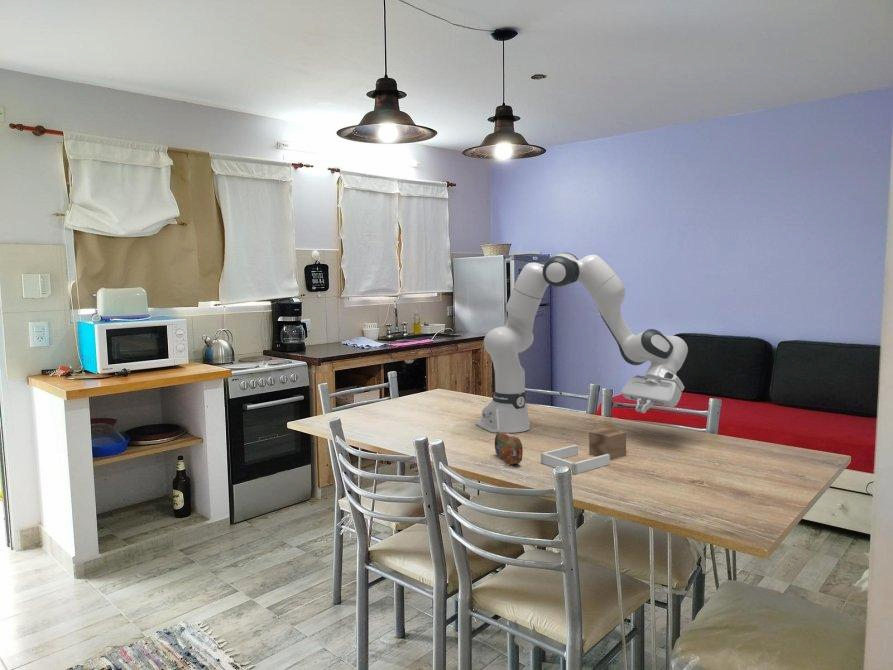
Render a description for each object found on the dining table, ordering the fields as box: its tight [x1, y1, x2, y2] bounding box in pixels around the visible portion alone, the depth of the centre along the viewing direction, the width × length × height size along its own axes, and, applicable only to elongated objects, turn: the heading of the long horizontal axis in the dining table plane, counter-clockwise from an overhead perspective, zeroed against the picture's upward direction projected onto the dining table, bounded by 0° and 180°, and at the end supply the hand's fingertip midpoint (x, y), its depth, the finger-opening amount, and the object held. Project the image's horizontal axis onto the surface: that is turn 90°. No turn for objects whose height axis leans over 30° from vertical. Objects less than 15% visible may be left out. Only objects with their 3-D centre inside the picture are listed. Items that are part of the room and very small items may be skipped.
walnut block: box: [588, 427, 627, 461], centre depth 190 cm, size 8×8×8 cm
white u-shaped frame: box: [540, 444, 611, 475], centre depth 182 cm, size 14×15×3 cm
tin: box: [494, 432, 524, 465], centre depth 186 cm, size 15×3×8 cm, turn 21°
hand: (639, 411), depth 198 cm, fingers closed
